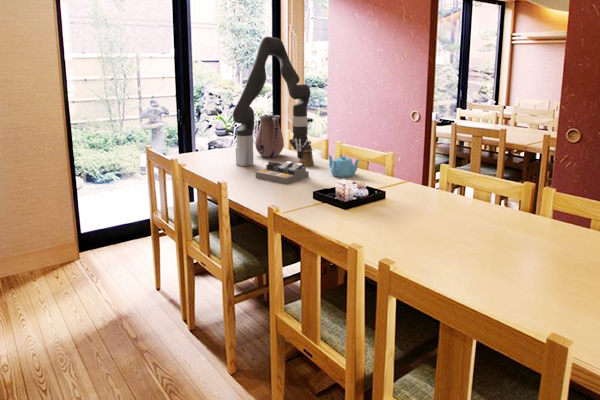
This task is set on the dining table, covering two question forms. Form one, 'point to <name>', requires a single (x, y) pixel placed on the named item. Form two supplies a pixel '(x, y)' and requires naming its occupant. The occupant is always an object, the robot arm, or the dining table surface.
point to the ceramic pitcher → (269, 136)
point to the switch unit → (282, 174)
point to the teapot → (343, 166)
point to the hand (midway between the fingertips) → (300, 158)
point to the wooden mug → (307, 157)
